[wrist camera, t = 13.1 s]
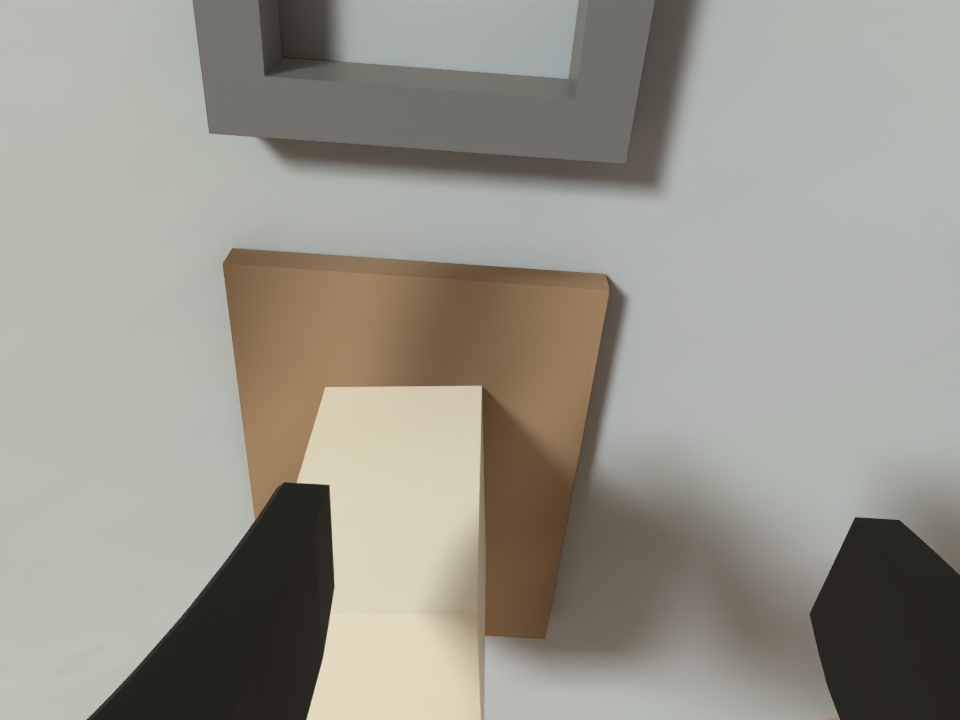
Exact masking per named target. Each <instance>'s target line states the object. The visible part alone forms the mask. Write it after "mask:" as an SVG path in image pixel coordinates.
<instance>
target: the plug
mask: <svg viewBox="0 0 960 720" xmlns="http://www.w3.org/2000/svg"><path fill="white" fill-rule="evenodd" d="M297 483H305V484H322V485H330V505H331V525H332V545H333V565H334V584H335V587H334V593H333V600H332V606H331V613H330V619H329V625H328V631H327V637H326V643H325V649H324V655H323V660H322V664H321V667H320V671H319V675H318V679H317V682H316V686H315V690H314V694H313V697H312V701H311V705H310V708H309V712H308V716H307V719H306V720H484V679H485V589H486V532H485V492H484V452H483V413H482V386H396V387H325V390H324V393H323V397H322V400H321V403H320V407H319V410H318V413H317V417H316V420H315V423H314V427H313V430H312V433H311V437H310V440H309V443H308V446H307V450H306V453H305V456H304V460H303V463H302V466H301V470H300V473H299V476H298V480H297Z"/></svg>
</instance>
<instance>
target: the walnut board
mask: <svg viewBox="0 0 960 720" xmlns="http://www.w3.org/2000/svg"><path fill="white" fill-rule="evenodd" d="M223 270H224V277H225V285H226V293H227V301H228V309H229V317H230V325H231V333H232V341H233V349H234V357H235V364H236V372H237V380H238V388H239V396H240V404H241V412H242V420H243V428H244V436H245V444H246V451H247V459H248V467H249V475H250V483H251V491H252V499H253V507H254V515H255V520H256V519H257V517H258V516H259V514H260V513H261V511H262V510H263V508H264V507H265V505H266V504H267V502H268V501H269V499H270V497H271V496H272V494H273V493H274V491H275V490H276V488H277V487H279V486H280V485H281V484H283V483H284V482H289V483H297V480H298V476H299V473H300V470H301V466H302V463H303V460H304V456H305V453H306V450H307V446H308V443H309V440H310V437H311V433H312V430H313V427H314V423H315V420H316V417H317V413H318V410H319V407H320V403H321V400H322V397H323V393H324V390H325V387H396V386H482V413H483V452H484V492H485V532H486V589H485V635H487V636H505V637H522V638H540V639H545V637H546V632H547V626H548V621H549V615H550V610H551V605H552V599H553V594H554V588H555V583H556V578H557V572H558V567H559V561H560V556H561V551H562V545H563V540H564V534H565V529H566V524H567V518H568V513H569V507H570V502H571V497H572V491H573V486H574V480H575V475H576V470H577V464H578V459H579V453H580V448H581V443H582V437H583V432H584V426H585V421H586V416H587V410H588V405H589V399H590V394H591V389H592V383H593V378H594V372H595V367H596V362H597V356H598V351H599V345H600V340H601V335H602V329H603V324H604V318H605V313H606V308H607V302H608V297H609V291H610V290H609V286H608V282H607V278H606V274H595V273H580V272H566V271H551V270H537V269H523V268H508V267H494V266H479V265H465V264H451V263H436V262H422V261H408V260H393V259H379V258H364V257H350V256H336V255H321V254H307V253H292V252H278V251H264V250H249V249H235V248H232V250H231V251H230V253H229V254H228V256H227V258H226V259H225V261H224V262H223Z"/></svg>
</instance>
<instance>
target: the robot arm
mask: <svg viewBox="0 0 960 720" xmlns="http://www.w3.org/2000/svg"><path fill="white" fill-rule="evenodd" d="M334 587H335V584H334V565H333V545H332V525H331V505H330V485H322V484H305V483H289V482H284V483H283V484H281V485H280V486H279V487H277V488H276V490H275V491H274V493H273V494H272V496H271V497H270V499H269V501H268V502H267V504H266V505H265V507H264V508H263V510H262V511H261V513H260V514H259V516H258V517H257V519H256V520H255V521H254V523H253V524H252V526H251V527H250V529H249V530H248V531H247V533H246V534H245V536H244V537H243V538H242V540H241V541H240V542H239V544H238V545H237V547H236V548H235V549H234V551H233V552H232V553H231V555H230V556H229V557H228V559H227V560H226V561H225V563H224V564H223V565H222V567H221V568H220V569H219V570H218V572H217V573H216V574H215V575H214V577H213V578H212V579H211V580H210V582H209V583H208V584H207V586H206V587H205V588H204V589H203V591H202V592H201V593H200V594H199V596H198V597H197V598H196V599H195V601H194V602H193V603H192V605H191V606H190V607H189V608H188V609H187V611H186V612H185V613H184V614H183V615H182V617H181V618H180V619H179V620H178V621H177V622H176V624H175V625H174V626H173V627H172V628H171V629H170V630H169V632H168V633H167V634H166V635H165V636H164V637H163V638H162V640H161V641H160V642H159V643H158V644H157V645H156V646H155V648H154V649H153V650H152V651H151V652H150V653H149V654H148V656H147V657H146V658H145V659H144V660H143V661H142V662H141V663H140V665H139V666H138V667H137V668H136V669H135V670H134V671H133V672H132V673H131V675H130V676H129V677H128V678H127V679H126V680H125V681H124V682H123V683H122V684H121V685H120V686H119V687H118V688H117V689H116V690H115V692H114V693H113V694H112V695H111V696H110V697H109V698H108V699H107V700H106V701H105V702H104V703H103V704H102V705H101V706H100V707H99V708H98V709H97V710H96V711H95V712H94V713H93V714H92V715H91V716H90V717H89V718H88V719H87V720H306V719H307V716H308V712H309V708H310V705H311V701H312V697H313V694H314V690H315V686H316V682H317V679H318V675H319V671H320V667H321V664H322V660H323V655H324V649H325V643H326V637H327V631H328V625H329V619H330V613H331V606H332V600H333V593H334ZM810 618H811V622H812V626H813V630H814V635H815V639H816V643H817V648H818V652H819V656H820V660H821V663H822V667H823V671H824V674H825V678H826V682H827V686H828V689H829V691H830V694H831V697H832V699H833V702H834V705H835V707H836V710H837V712H838V715H839V718H840V720H960V575H959V574H958V573H957V572H956V571H955V570H954V569H953V568H952V567H950V566H949V565H948V564H947V563H946V562H945V561H944V560H943V559H942V558H941V557H940V556H939V555H938V554H937V553H935V552H934V551H933V550H932V549H931V548H930V547H929V546H928V545H927V544H926V543H925V542H923V541H922V540H921V539H920V538H919V537H918V536H917V535H916V534H915V533H913V532H912V531H911V530H910V529H909V528H908V527H907V526H905V525H904V524H903V523H902V522H901V521H900V520H889V519H873V518H857V517H855V519H854V521H853V523H852V525H851V528H850V530H849V532H848V534H847V536H846V538H845V540H844V542H843V544H842V547H841V549H840V551H839V553H838V555H837V557H836V559H835V561H834V564H833V566H832V568H831V570H830V572H829V574H828V576H827V578H826V580H825V583H824V585H823V587H822V589H821V591H820V593H819V595H818V597H817V600H816V602H815V604H814V606H813V608H812V610H811V612H810Z"/></svg>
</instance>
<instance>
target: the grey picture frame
mask: <svg viewBox="0 0 960 720" xmlns="http://www.w3.org/2000/svg"><path fill="white" fill-rule="evenodd" d="M654 3H655V0H579V5H578V13H577V21H576V28H575V36H574V44H573V51H572V59H571V67H570V74H569V79H558V78H545V77H532V76H519V75H506V74H492V73H479V72H466V71H453V70H440V69H427V68H414V67H401V66H387V65H374V64H361V63H348V62H335V61H322V60H309V59H295V58H282V52H281V37H280V23H279V8H278V0H193V7H194V15H195V23H196V31H197V39H198V47H199V55H200V63H201V71H202V79H203V87H204V95H205V103H206V111H207V119H208V128H209V133H211V134H224V135H238V136H252V137H265V138H279V139H292V140H306V141H320V142H333V143H347V144H361V145H374V146H388V147H401V148H415V149H429V150H442V151H456V152H470V153H483V154H497V155H510V156H524V157H538V158H551V159H565V160H579V161H592V162H606V163H620V164H626V159H627V153H628V148H629V142H630V137H631V131H632V125H633V120H634V114H635V109H636V103H637V98H638V92H639V86H640V81H641V75H642V70H643V64H644V59H645V53H646V48H647V42H648V36H649V31H650V25H651V20H652V14H653V9H654Z"/></svg>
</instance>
